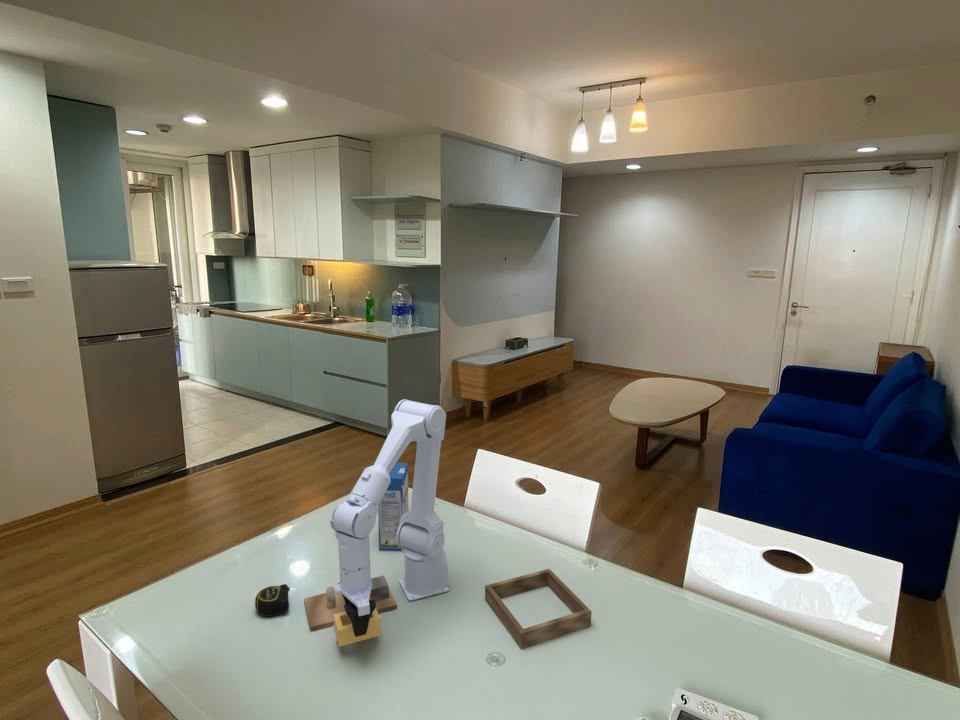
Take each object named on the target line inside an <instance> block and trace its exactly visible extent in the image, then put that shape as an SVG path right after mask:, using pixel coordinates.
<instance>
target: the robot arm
mask: <svg viewBox="0 0 960 720" xmlns="http://www.w3.org/2000/svg"><path fill="white" fill-rule="evenodd" d="M390 417H391V419H390V420H391V421H390V422H391V429H389V433H388V435H387V437H386V439H385V441H384V442H383V445H382V448H381V449H380V452H378V453H379V454H378V455H377V458H376V459H375V462H374V464H373V465H370V466H367V467H365V468H364V469H363V471H362V473H361V474H360V476H359V478H358V480H357V482H356V483H355V485H354V486H353V488H352V489H351V491H350V492H349V493H350V494H349V495H348V496H347V498H346V500H344V501H342V502H340V503H339V504H337V505H336V506H335V508H334V509H333V511H332V515H331V520H329V523H330V524H329V525H330V528H331V529H332V530H333V531H334V533H335V539H337V542H338V543H337V544H338V546H337V547H338V564H339V582H338V583H337V584H334V586H333V587H334V591H335V593H336V594H340V593H341V594H342V596H343V598H344V600H345V604H346V605H344V608H345V611H346V613H347V615H348V617H349V618H350V619H351V622H352V627H353V631H354V634H355V637H358V636H362V635H365V634H366V633H367V629H368V624H369V620H370V617H371V615H372V613H373V611H374V610H375V608H376V603H375V600H374V599H373V600H369V598H370V593H371V588H372V580H371V578H372V577H371V575H372V574H371V552H370V551H371V550H370V548H371V546H370V544H371V543H370V533H371V532H372V530H373V529H374V527H375V525H376V522H377V514H378V504H379V503H380V501H381V499H382V497H383V495H384V494H385V492H386V490H387V488H388V486H389V485H390V483H391V480H390V475H389V473H390V471H391V470H392V468H393V467H394V465H395V464H396V463H398V461H399V459H400V458H401V457H402V455H403V453H404V452H405V451H406V449H407V447H408V446H409V445H410V443H412V442H416V450H415V451H416V453H415V454H416V455H415V460H414V461H415V463H414V472H413V480H412V481H413V482H412V488H411V489H412V491H411V500H410V501H411V502H410V510H408V512H407V513H405V514H404V515H403V516H401V520H400V525H399V528H398V530H397V533H396V541H397V544H398V546H400V547H402V551H401V553H403V554H404V578H401V579H399V585H400V586H401V588H402V590H403V592H404V594H405V596H406V598H407V600H408V601H409V602H412V601H417V600H420V599H423V598H428V597H431V596H435V595H439V594H443V593H446V592H449V590H450V588H449V585H448V582H449V581H448V580H449V579H448V577H449V575H448V573H449V572H448V571H449V569H448V566H449V564H448V563H449V562H448V558H447V553H446V550H445V549H444V546H445V541H446V540H445V532H444V521H443V519H441V518H440V516H439V515H438V514H437V513H436V512H435V506H436V505H435V504H436V496H437V495H436V494H437V485H438V484H437V483H438V475H439V465H440V457H441V456H440V455H441V447H442V441H443V440H445V429H446V422H447V413H446V411H444V409H443V407H442V406H440V405H437V404H435V405H433V404H429V403H423V402H419V401H413V400H410V399H407V398H406V399H405V398H404V399H401V400H399V401H398V403H397V404H396V405H395V408H394V410H393V412H392V414H391V416H390Z"/></svg>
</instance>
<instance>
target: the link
mask: <svg viewBox="0 0 960 720" xmlns="http://www.w3.org/2000/svg"><path fill="white" fill-rule="evenodd" d="M333 629H334V634H335V637H336V640H337V644H338V647H339V648H340V647H343V646H347V645H352V644H353V643H357V642H361V641H364V640H368V639H371V638H376V637H378V636H381V633H382V632H381V630H382V628H381V618H380V615H379V614H378V612H377V610H376V608H375V610H374V611H373V613H372V615H371V617H370V620H369V624H368V629H367V633H366V634H365V635H362V636H358V637H355V634H354V631H353V627H352V622H351V619H350V618H349V617H348V615H347V613H346V611H345V612H341V613H337V614H334V626H333Z"/></svg>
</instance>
